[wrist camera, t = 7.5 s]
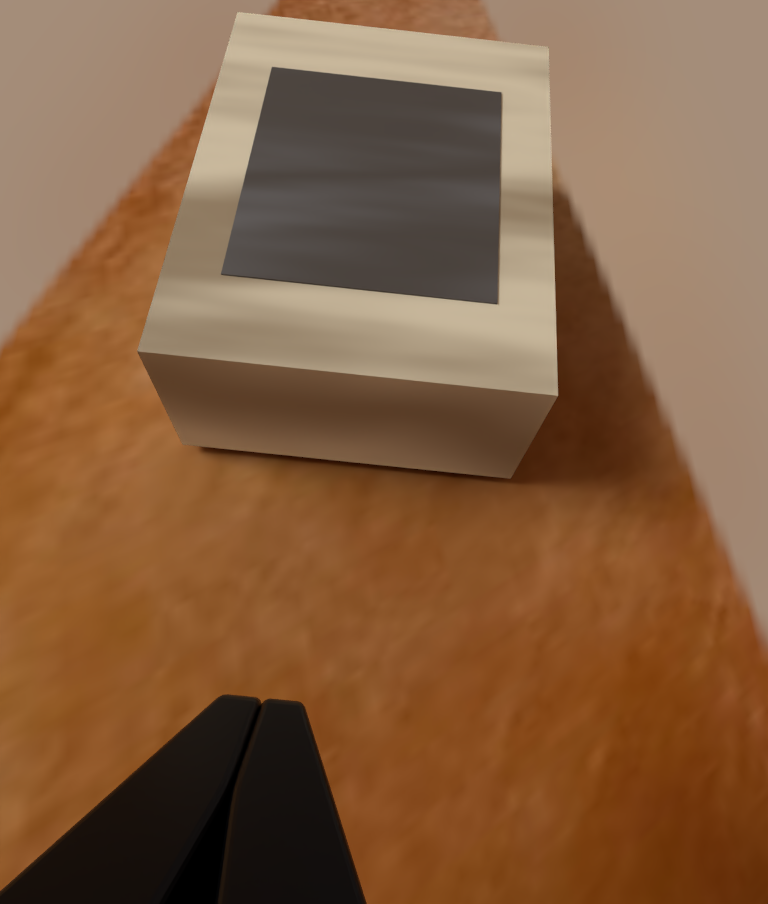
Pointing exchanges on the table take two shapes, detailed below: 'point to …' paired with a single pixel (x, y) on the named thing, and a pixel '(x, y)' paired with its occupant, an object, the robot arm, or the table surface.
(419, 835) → the table surface
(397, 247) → the birch block
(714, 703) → the table surface
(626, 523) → the table surface
